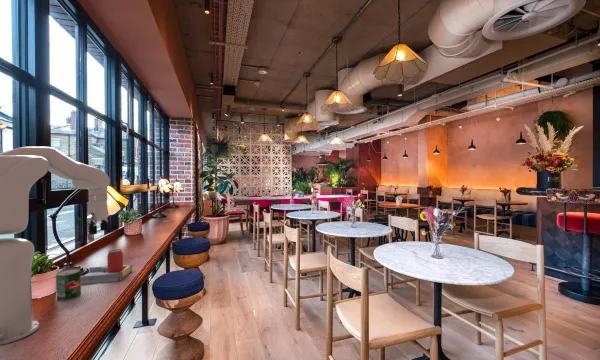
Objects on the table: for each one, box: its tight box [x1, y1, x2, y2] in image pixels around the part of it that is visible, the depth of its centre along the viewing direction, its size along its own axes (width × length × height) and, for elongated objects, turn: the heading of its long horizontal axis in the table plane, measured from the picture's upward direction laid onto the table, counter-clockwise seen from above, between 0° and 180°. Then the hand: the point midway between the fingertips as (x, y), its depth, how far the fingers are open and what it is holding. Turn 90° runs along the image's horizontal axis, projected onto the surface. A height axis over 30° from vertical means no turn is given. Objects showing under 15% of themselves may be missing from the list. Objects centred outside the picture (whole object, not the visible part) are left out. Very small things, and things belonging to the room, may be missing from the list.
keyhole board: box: [80, 263, 133, 285], centre depth 137 cm, size 15×20×4 cm
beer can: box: [106, 248, 124, 273], centre depth 137 cm, size 7×7×12 cm
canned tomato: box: [55, 268, 82, 302], centre depth 114 cm, size 8×8×11 cm
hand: (98, 232), depth 136 cm, fingers open, 9 cm apart
